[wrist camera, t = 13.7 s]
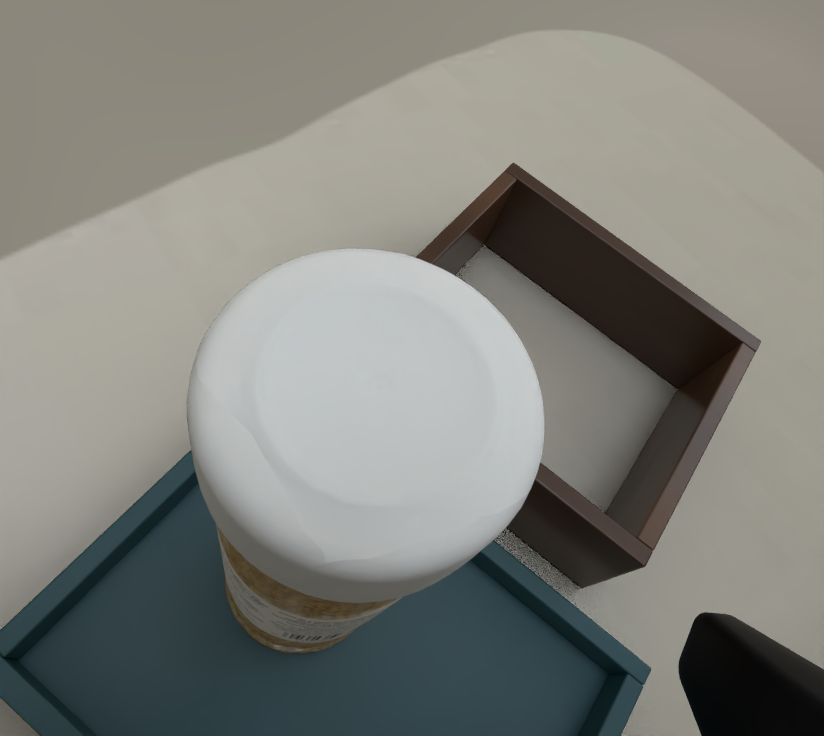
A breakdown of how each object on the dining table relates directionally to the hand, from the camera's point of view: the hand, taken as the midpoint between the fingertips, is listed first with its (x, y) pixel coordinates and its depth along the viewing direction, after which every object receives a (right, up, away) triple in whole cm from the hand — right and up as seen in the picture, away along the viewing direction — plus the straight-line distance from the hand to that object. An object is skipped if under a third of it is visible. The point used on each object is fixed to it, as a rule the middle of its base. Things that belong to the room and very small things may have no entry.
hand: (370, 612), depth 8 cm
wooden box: (+5, +2, +17) cm, 18 cm away
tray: (-2, -6, +11) cm, 12 cm away
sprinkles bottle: (-3, -3, +12) cm, 12 cm away
